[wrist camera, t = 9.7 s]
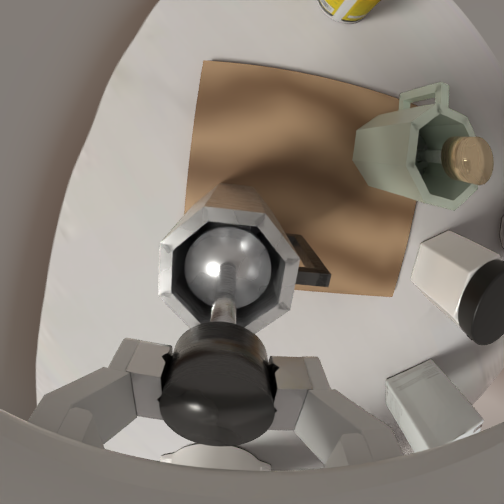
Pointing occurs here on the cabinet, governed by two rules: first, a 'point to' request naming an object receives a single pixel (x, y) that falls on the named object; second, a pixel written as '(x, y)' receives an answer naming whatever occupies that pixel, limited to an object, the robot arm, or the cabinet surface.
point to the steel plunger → (221, 346)
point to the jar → (463, 284)
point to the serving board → (302, 166)
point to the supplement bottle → (346, 9)
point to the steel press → (269, 232)
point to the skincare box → (430, 407)
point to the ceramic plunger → (458, 158)
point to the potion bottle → (502, 231)
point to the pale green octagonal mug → (413, 148)
